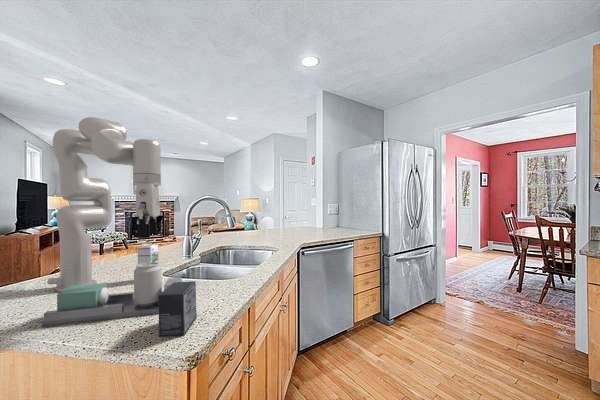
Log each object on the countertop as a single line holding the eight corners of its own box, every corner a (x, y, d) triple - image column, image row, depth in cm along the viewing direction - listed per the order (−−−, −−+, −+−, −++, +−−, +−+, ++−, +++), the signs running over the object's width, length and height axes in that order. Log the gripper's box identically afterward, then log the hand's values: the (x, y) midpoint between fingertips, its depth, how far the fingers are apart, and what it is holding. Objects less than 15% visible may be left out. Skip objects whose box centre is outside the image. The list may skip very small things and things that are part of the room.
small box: (173, 318, 77) (172, 281, 78) (197, 317, 78) (197, 280, 78) (157, 337, 67) (156, 294, 67) (184, 336, 68) (184, 293, 68)
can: (133, 309, 81) (132, 267, 81) (135, 300, 87) (134, 262, 87) (162, 304, 84) (161, 264, 84) (161, 296, 91) (161, 260, 91)
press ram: (57, 315, 76) (57, 294, 76) (71, 305, 83) (71, 285, 83) (100, 311, 78) (99, 290, 78) (110, 301, 86) (110, 282, 86)
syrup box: (151, 281, 113) (151, 246, 113) (137, 281, 113) (137, 246, 113) (159, 277, 119) (158, 244, 119) (145, 278, 119) (145, 244, 119)
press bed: (41, 327, 73) (41, 298, 73) (65, 310, 84) (64, 285, 84) (177, 311, 83) (177, 286, 83) (182, 297, 94) (182, 275, 94)
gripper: (154, 178, 78) (155, 239, 78) (165, 182, 95) (165, 232, 95) (124, 178, 76) (124, 240, 76) (140, 182, 93) (141, 233, 93)
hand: (147, 235), depth 86 cm, fingers open, 9 cm apart
